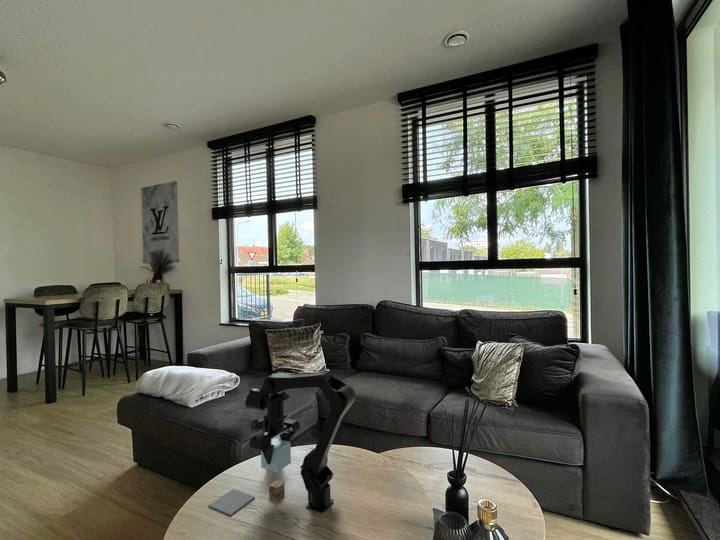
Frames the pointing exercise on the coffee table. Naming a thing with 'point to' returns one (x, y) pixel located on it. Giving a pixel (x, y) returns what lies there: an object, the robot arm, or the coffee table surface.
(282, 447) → the pale blue cube
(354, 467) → the coffee table surface
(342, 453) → the coffee table surface
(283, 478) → the coffee table surface
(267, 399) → the robot arm
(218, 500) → the gray square plate
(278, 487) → the walnut block
